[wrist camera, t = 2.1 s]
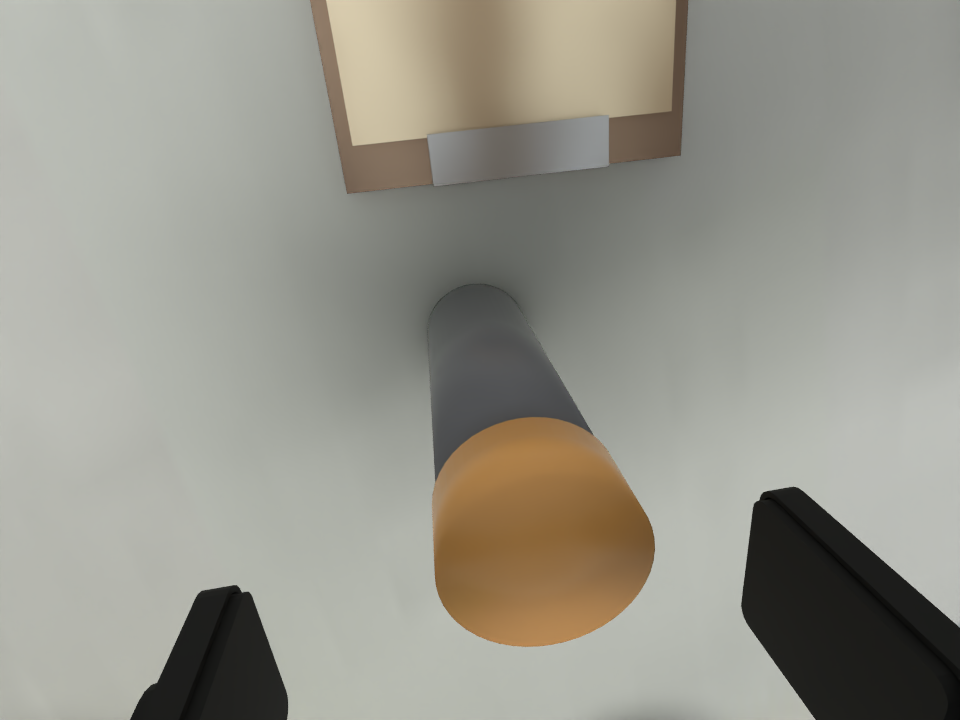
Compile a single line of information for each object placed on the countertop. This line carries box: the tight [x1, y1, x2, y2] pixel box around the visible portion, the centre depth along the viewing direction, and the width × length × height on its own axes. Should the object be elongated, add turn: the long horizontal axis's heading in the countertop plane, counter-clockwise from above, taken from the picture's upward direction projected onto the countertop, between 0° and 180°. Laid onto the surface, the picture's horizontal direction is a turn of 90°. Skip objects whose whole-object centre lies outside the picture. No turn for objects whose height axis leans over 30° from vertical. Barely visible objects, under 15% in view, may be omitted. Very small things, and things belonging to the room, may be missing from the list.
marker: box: [427, 284, 655, 647], centre depth 16 cm, size 4×4×13 cm
